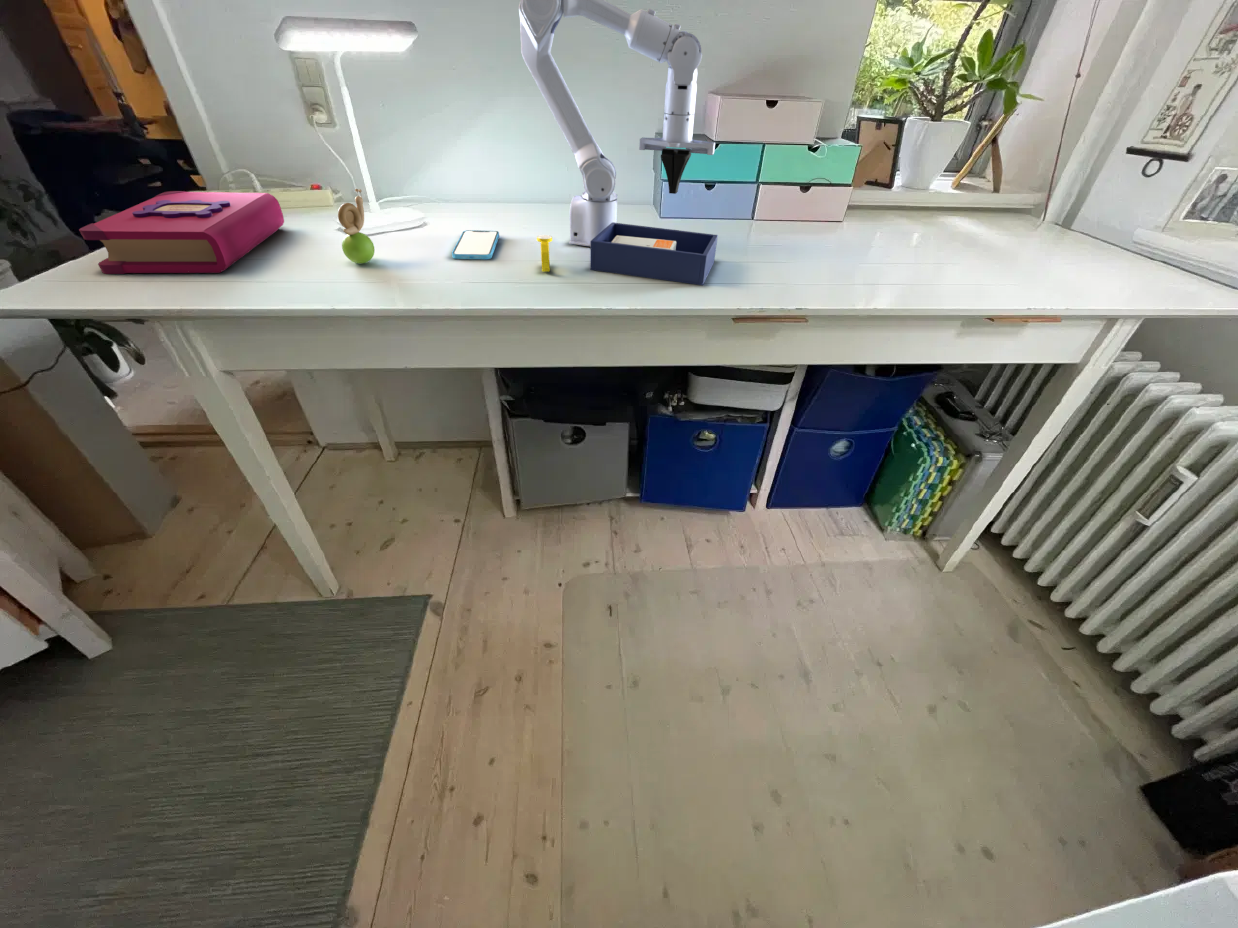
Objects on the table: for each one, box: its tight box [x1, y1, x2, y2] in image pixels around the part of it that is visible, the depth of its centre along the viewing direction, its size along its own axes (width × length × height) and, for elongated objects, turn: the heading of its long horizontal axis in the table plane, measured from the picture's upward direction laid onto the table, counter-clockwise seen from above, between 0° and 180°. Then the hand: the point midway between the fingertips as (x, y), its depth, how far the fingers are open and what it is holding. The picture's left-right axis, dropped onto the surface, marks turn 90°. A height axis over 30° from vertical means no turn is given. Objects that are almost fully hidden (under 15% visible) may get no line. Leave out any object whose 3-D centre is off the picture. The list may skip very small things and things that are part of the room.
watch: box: [536, 234, 553, 273], centre depth 101 cm, size 6×3×6 cm, turn 6°
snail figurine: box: [337, 188, 375, 264], centre depth 99 cm, size 5×6×12 cm
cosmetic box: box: [612, 235, 676, 250], centre depth 105 cm, size 6×4×12 cm
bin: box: [589, 222, 719, 286], centre depth 105 cm, size 22×14×5 cm, turn 74°
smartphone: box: [451, 229, 500, 260], centre depth 112 cm, size 8×1×15 cm
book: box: [78, 190, 285, 275], centre depth 103 cm, size 21×28×8 cm
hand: (673, 192), depth 111 cm, fingers closed
